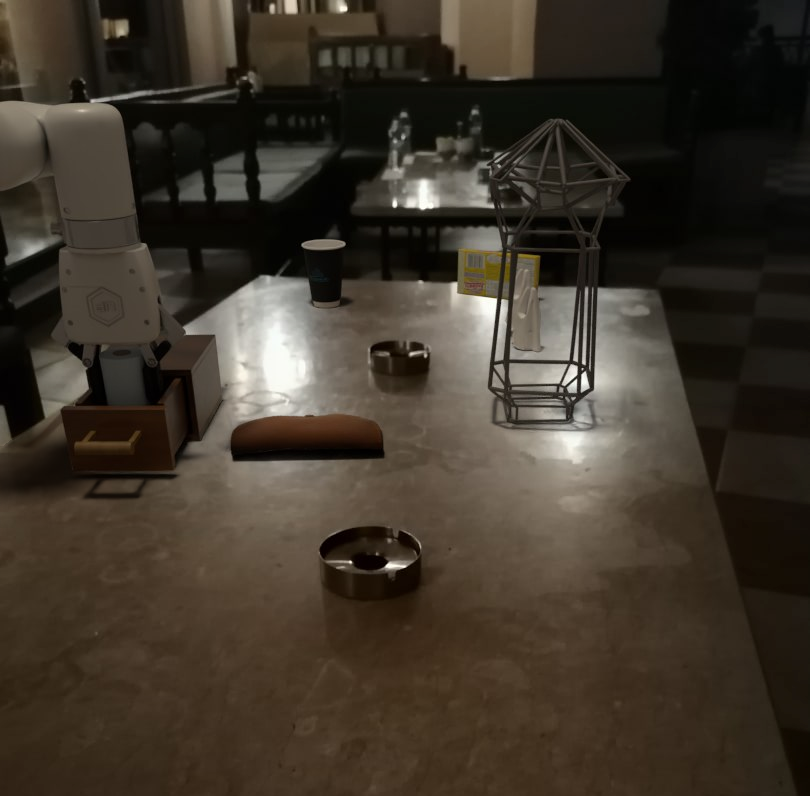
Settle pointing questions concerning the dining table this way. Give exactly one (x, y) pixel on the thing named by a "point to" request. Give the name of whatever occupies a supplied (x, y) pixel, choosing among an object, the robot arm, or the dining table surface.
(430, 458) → the dining table surface
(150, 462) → the drawer
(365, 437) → the sunglasses case
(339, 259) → the dixie cup
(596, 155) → the geometric lantern
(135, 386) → the paper roll
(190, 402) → the cabinet
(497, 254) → the candy box
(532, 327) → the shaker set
